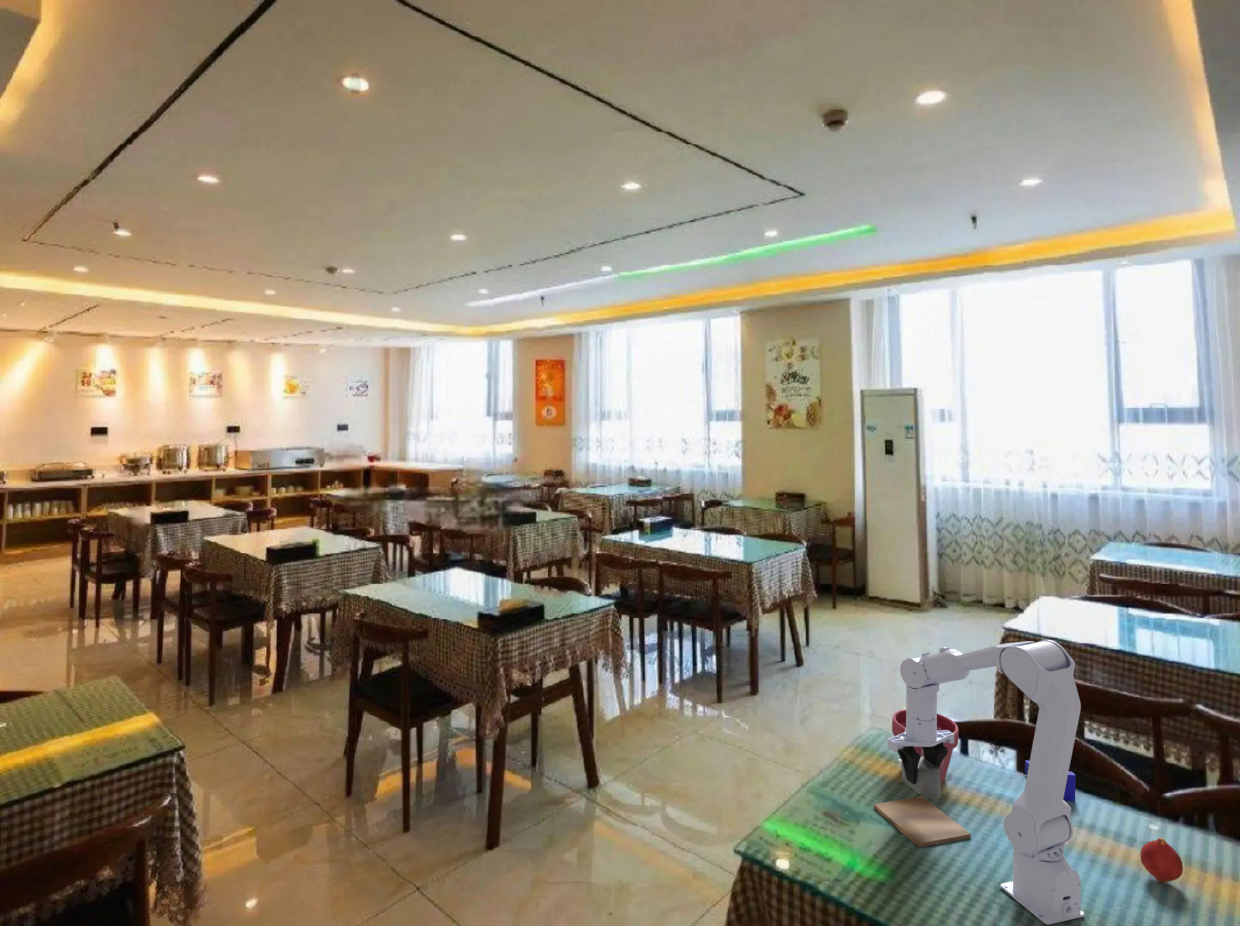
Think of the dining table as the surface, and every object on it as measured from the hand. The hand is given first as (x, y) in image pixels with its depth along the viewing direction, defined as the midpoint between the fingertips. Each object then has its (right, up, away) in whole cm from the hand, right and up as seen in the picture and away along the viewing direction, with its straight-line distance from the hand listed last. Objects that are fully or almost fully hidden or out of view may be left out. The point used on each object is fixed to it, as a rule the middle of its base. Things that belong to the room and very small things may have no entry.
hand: (920, 779), depth 133 cm
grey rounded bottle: (0, -1, 0) cm, 1 cm away
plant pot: (+10, -8, +19) cm, 23 cm away
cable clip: (+36, -9, +14) cm, 39 cm away
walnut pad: (0, -9, 0) cm, 9 cm away
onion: (+34, -10, -18) cm, 40 cm away
